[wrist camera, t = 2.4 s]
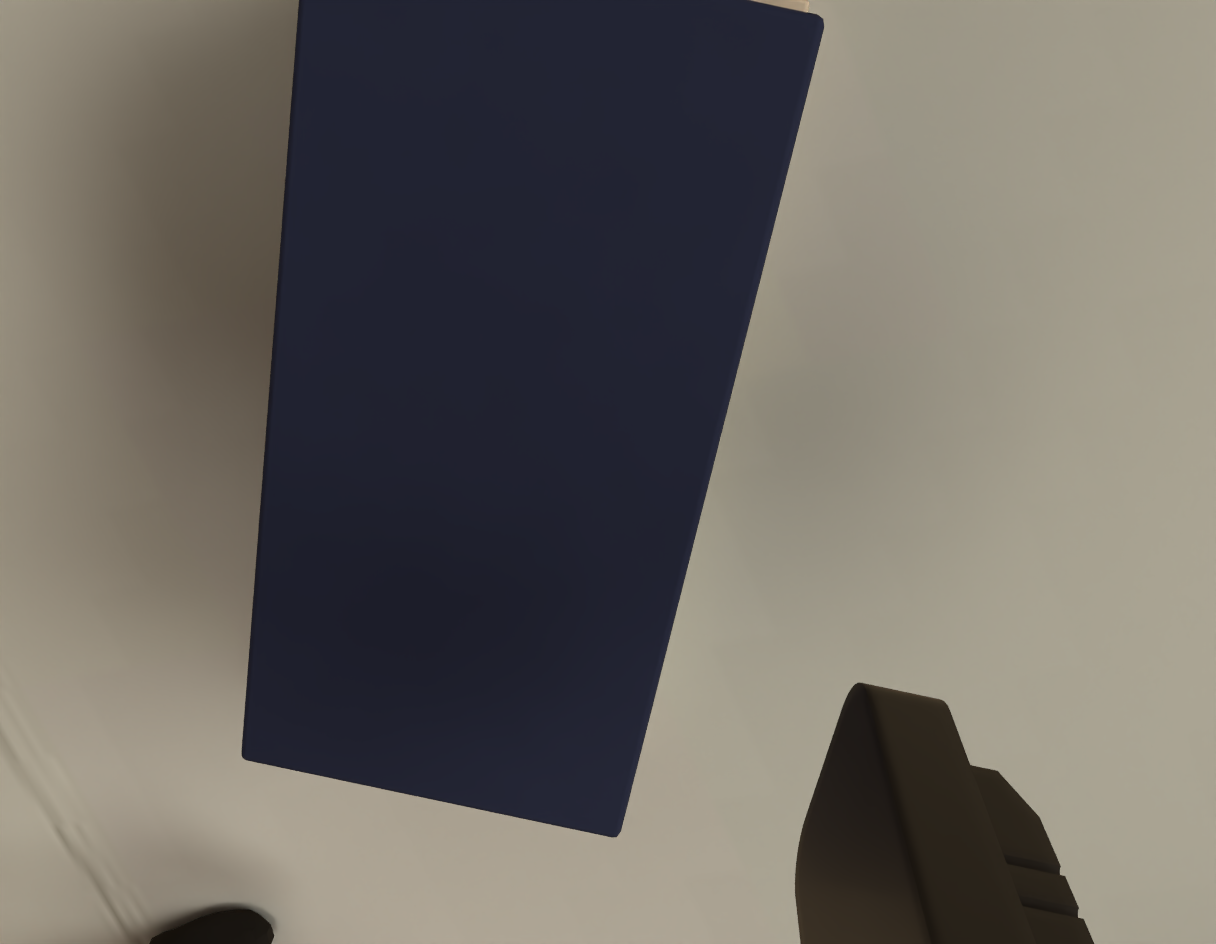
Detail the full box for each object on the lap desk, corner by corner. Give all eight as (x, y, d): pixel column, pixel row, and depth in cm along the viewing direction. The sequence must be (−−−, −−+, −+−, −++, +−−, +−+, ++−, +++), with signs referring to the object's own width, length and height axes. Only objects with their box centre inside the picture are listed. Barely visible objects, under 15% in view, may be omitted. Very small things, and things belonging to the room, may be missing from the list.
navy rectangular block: (414, -81, 14) (294, -123, 10) (802, 1, 14) (843, -5, 10) (329, 677, 19) (223, 866, 15) (622, 739, 19) (600, 945, 15)
